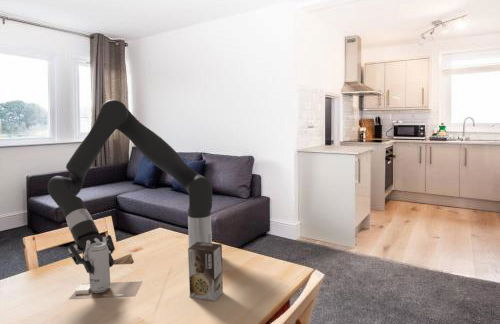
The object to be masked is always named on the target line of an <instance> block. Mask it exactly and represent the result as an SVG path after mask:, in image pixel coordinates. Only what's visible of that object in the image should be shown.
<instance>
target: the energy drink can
mask: <svg viewBox="0 0 500 324" xmlns="http://www.w3.org/2000/svg"><path fill="white" fill-rule="evenodd" d="M88 258H89V259H88V261H90V263H91V265H92V267H93V269H94V272H93V273H92V274H89V273H88V275H89V276H88V277H89V283H90V289H91V290H92V292H94V293H101V292H105V291H106V290H108V289H109V287H110V283H111V271H110V268H111V267H109V249H108V247H107V245H106V243H105V242H104V241H102V242H96V243H92V244H91V245H90V248H89V250H88Z"/></svg>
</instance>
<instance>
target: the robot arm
mask: <svg viewBox="0 0 500 324" xmlns="http://www.w3.org/2000/svg"><path fill="white" fill-rule="evenodd" d="M116 130H117V131H119V132H121V133H122V134H123V135H124V136H125V137H127V138H128V139H129V140H130V141H131V143H132V144H133V145H134V146H135V147H136V148H137V150H139V152H141V154H142V155H143V156H144V157H146V159H147V160H148V161H149V162H151V163H153V164H154V165H155V166H156V167H157V168H158V169H160V170H162V172H165V173H166V174H168V175H170V176H171V177H172V178H174V179H175V180H176V181H177V182H178V183H179V184H180V185H181V186H182V187H183V189H184V190H185V191H186V192H187V194H188V195H189V196H188V197H189V198H188V201H189V204H188V205H189V206H188V208H187V227H188V228H187V229H188V248H190V247H191V246H192V245H193V244H195V243H196V242H204V243H213V241H212V239H213V238H212V237H213V236H212V234H213V233H212V209H213V186H212V183H211V181H210V180H209V179H208V178H207V177H206V176H203V175H202V174H200V173H198V172H197V171H196V170H194V169H193V168H191V167H190V166H189V165H188V164H187V163H186V162H185V161H184V160H183V159H182V157H181V156H180V155H179V154H178V153H177V151H176V150H175V149H174V148H173V147H172V146H171V145H170V144H169V143H168V142H166V141H165V140H164V139H163V138H162V137H161V136H159V135H158V134H157V133H156V132H154V131H153V130H151V129H150V128H148V127H147V126H145V125H144V124H142V122H140V120H138V119H137V117H136V116H134V114H132V112H131V111H130V110H129V109H128V108H127V106H126V105H125V103H123V102H122V101H120V100H118V99H109V100H108V99H107V101H105V102H103V103H102V104H101V106H100V108H99V113H98V115H97V117H96V120H95V122H94V124H93V125H92V127H91V129H90V131H89V132H88V134H87V135H86V137H85V138H84V139H83V140H82V142H81V143H80V144H79V146H78V147H77V148H76V149H75V150H74V152H73V154H72V156H71V157H70V159H69V160H68V162H67V163H66V165H65V166H66V167H65V169H66V170H67V171H68V172H69V177H65V176H60V175H55V176H53V177H51V178H50V179H49V180H48V183H47V193H48V194H49V196H50V198H51V199H52V200H53V201H54V202H55V204H56V205H57V206H58V207H59V208H60V210H61V211H62V212H61V213H63V216H64V218H65V220H66V224H67V227H68V230H69V231H70V233H71V236H72V238H73V241H74V242H75V244H74V245H70V246H69V247H68V249H67V252H68V254H69V256H70V257H71V259H72V260H73V262H74V263H75V265H76V266H77V265H78V266H79V265H83V267H84V269H85V271H86V273H87V274H88V275H89V274H92V273H93V272H94V269H93V267H92V265H91V263H90V261H88V259H89V258H88V250H89V248H90V245H91V244H92V243H96V242H105V243H106V245H107V247H108V249H109V268H112V267H113V266H114V265H113V264H114V260H115V259H114V258H113V256H112V254H113V253H114V252H115V250H116V248H115V245H114V242H113V238H112V236H111V235H110V234H108V235H107V236H104V237H103V236H101V234H100V232H99V229H98V227H97V225H96V223H95V222H94V218H92V215H91V214H90V212H89V211H88V209H87V206H86V205H85V202H84V200H83V199H82V198H80V197H79V196H78V194H79V193H80V192H81V191H82V187H83V184H84V181H85V178H86V175H87V173H88V171H89V170H90V169H91V167H92V166H93V164H94V163H95V161H96V159H97V158H98V156H99V154H100V153H101V151H102V149H103V147H104V146H105V144H106V142H107V141H108V140H109V138H110V137H111V135H113V133H114V132H115V131H116ZM78 250H80V251H81V252H82V256H81V255H80V253H79V252H78Z"/></svg>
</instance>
